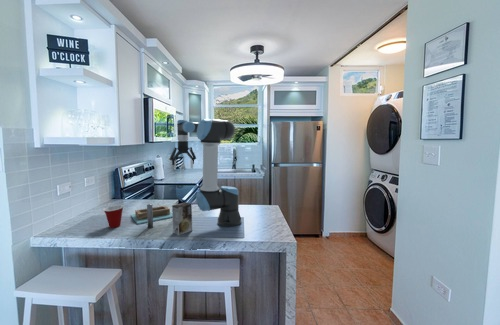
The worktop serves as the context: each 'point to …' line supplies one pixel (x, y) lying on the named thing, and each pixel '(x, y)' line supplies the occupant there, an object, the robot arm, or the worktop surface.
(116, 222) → the plastic cup
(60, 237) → the worktop surface
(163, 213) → the walnut link
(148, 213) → the metal post
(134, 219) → the teal pad
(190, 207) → the coffee box
